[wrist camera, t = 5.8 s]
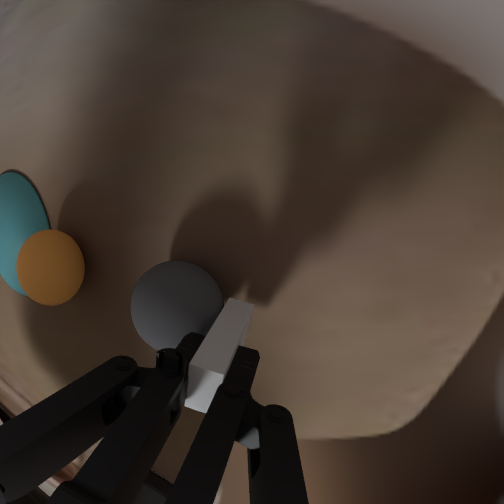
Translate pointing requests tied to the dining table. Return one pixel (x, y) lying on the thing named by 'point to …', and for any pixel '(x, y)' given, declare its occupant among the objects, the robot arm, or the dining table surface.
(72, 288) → the orange ball
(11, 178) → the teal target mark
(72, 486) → the robot arm
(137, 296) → the charcoal ball
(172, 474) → the dining table surface
